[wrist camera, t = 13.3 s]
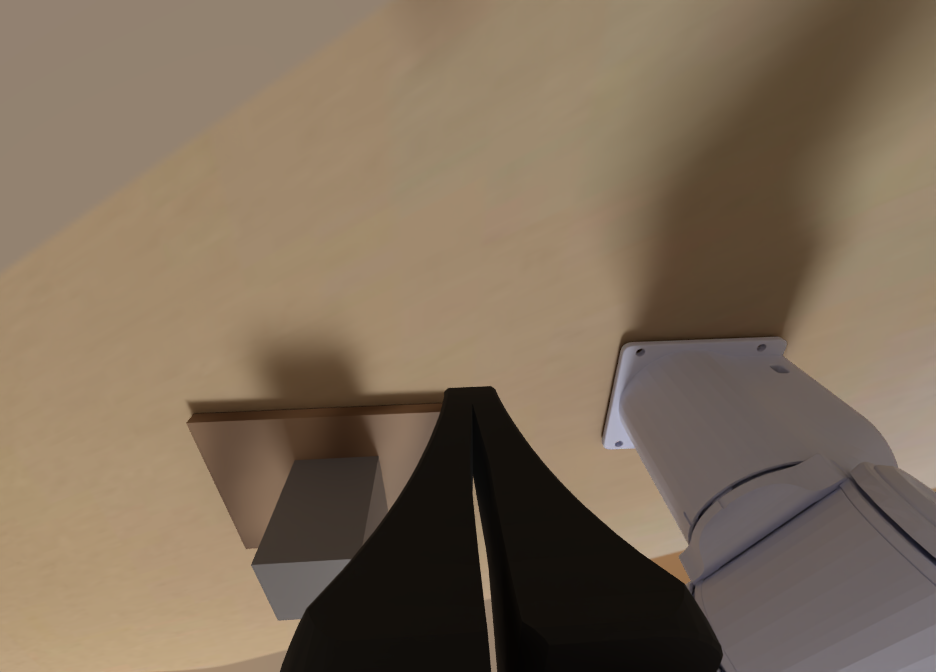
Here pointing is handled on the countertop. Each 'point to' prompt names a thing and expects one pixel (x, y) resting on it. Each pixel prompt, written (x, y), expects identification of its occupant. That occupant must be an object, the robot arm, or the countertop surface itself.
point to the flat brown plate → (304, 451)
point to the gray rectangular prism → (317, 529)
